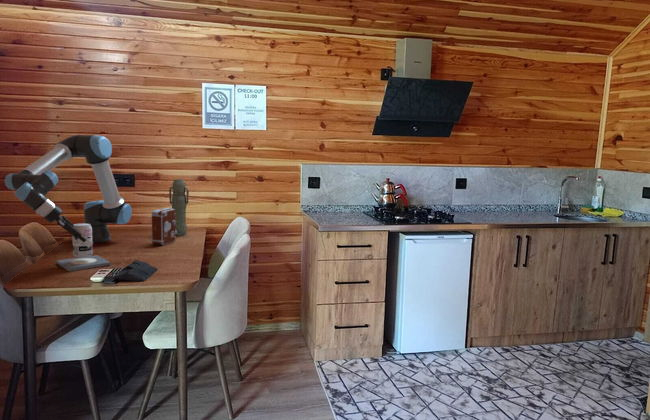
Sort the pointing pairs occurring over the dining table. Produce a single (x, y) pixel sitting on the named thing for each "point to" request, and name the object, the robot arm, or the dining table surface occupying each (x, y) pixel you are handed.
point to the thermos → (179, 205)
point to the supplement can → (78, 247)
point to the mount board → (82, 263)
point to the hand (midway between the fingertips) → (90, 243)
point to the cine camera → (163, 226)
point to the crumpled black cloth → (136, 272)
